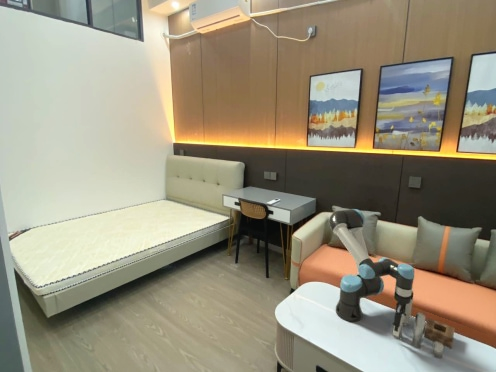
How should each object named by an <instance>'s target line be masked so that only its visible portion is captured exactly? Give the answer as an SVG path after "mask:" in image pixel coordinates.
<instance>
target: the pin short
mask: <svg viewBox="0 0 496 372" xmlns="http://www.w3.org/2000/svg"><path fill="white" fill-rule="evenodd" d="M444 347H445V346H444V345H443V344H442V343H440V342H437V341H435V342H434V341H433V346H432V351H431V354H432V356H434V358H437V359H441V358H442V357H443V353H444Z"/></svg>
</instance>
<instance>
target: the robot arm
mask: <svg viewBox="0 0 496 372" xmlns="http://www.w3.org/2000/svg"><path fill="white" fill-rule="evenodd" d="M328 221H329V222H328V224H329V228H330V230H331V231H332V233H333V234H334V235H336V236H337V237H338V238H339V240H340V241H341V243H342V244H343V245H344V247H345V248H346V249H347V251H348V252H349V255H351V257H352V258H353V259H354V261H355V265H356V268H357V272H356V274H353V275H352V274H347V275H344V276H342V278H341V280H340V284H339V286H340V288H339V289H340V290H339V298H338V299H339V300H338V302H337V304H336V305H335V313H336V315H337V316H338V317H339V318H340V319H342V320H344V321H346V322H351V323H354V322H355V323H356V322H359V321H360V320H362V316H363V311H362V307H361V299H364V298H369V297H372V296H373V297H374V296H377V295H380V294H381V293H383V291H384V289H385V284H384V279H383V278H382V277H386V276H390V277H392V278H393V279H395V286H394V295H393V298H394V300H395V301H397V302H396V306H395V314H394V318H393V322H392V325H393V331H392V336H393V335H395V336H397V337H399V331H400V321H401V317H402V314H404V316H406V314H405V312H406V311H405V310H406V304H409V303H410V301H411V293H412V292H413V293H414V290H413V285H414V280H415V268H414V267H413V266H412V265H410V264H407V263H397V262H395V260H392V259H391V258H388V257H385V256H383V257H380V259H378V260H377V261H376V262H374V261H373V259H372V258H371V257H370V256H369V252H368V248H367V245H366V241H365V238H364V234H363V231H362V230H364V224H365V223H366V222H365V221H366V219H365V215H364V213H363V212H362V211H361V210H359V209H355V208H350V209H343V210H336V211H334V212H332V213H331V215H330V217H329V220H328Z"/></svg>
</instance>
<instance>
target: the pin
mask: <svg viewBox="0 0 496 372" xmlns="http://www.w3.org/2000/svg"><path fill="white" fill-rule="evenodd" d="M403 322H404V314H402V317H401V321H400V331H399V337H397V336H395V335H393V334H392V336H393V338H395V339H396V340H401V339H402V335H403V327H404V325H403Z"/></svg>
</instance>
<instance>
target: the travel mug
mask: <svg viewBox="0 0 496 372" xmlns="http://www.w3.org/2000/svg"><path fill="white" fill-rule="evenodd" d="M413 301H414V291H413V292H412V293H411V301H410V303H409V304H406V310H405V311H406V312H405V314H406V316H404V322H403V326H408V325H409V324H410V321H411V315H412V314H411V313H412V309H413V307H412V306H413Z"/></svg>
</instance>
